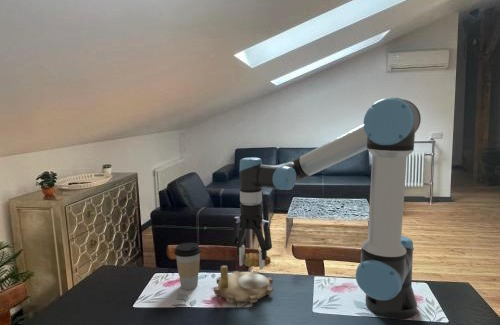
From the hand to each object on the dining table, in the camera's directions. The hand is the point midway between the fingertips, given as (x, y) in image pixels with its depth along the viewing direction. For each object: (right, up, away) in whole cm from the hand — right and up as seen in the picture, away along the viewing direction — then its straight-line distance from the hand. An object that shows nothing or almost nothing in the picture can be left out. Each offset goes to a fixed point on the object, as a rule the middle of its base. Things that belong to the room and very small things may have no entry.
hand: (251, 266), depth 123 cm
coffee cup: (-23, -9, +4) cm, 25 cm away
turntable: (-3, -8, 0) cm, 8 cm away
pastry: (+1, 0, +3) cm, 3 cm away
